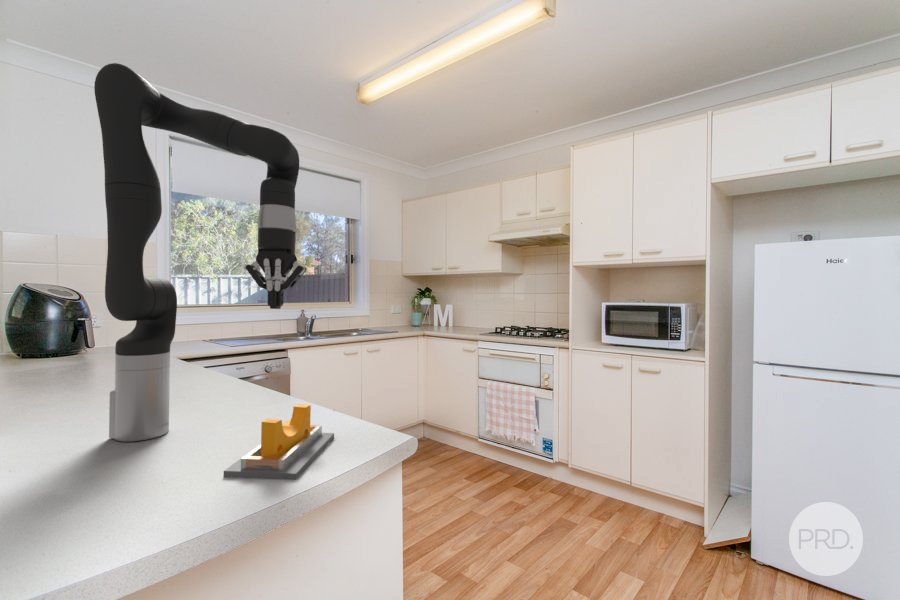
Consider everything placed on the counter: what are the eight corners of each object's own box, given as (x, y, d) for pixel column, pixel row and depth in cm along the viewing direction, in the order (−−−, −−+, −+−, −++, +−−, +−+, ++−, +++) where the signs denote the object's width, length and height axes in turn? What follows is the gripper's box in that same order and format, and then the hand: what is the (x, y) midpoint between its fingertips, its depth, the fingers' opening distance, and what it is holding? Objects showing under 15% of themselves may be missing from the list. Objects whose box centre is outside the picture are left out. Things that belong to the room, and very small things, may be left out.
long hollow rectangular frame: (240, 469, 68) (240, 458, 68) (287, 432, 87) (287, 424, 87) (283, 470, 68) (283, 460, 68) (321, 433, 86) (321, 425, 86)
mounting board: (223, 477, 68) (223, 470, 68) (278, 435, 88) (278, 431, 88) (295, 479, 67) (295, 473, 67) (334, 437, 87) (334, 433, 87)
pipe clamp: (289, 435, 83) (290, 403, 83) (309, 437, 82) (310, 405, 82) (251, 458, 71) (252, 421, 71) (274, 460, 70) (275, 423, 70)
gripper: (237, 225, 86) (236, 308, 86) (300, 226, 85) (298, 310, 85) (255, 231, 93) (254, 307, 93) (313, 232, 93) (312, 308, 93)
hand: (275, 308), depth 89 cm, fingers closed
